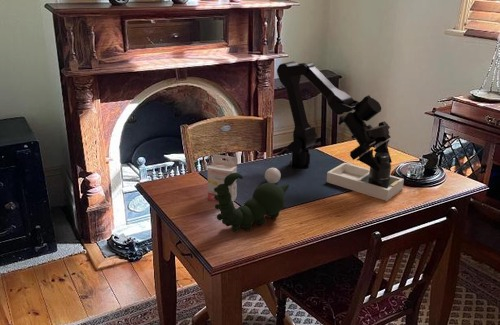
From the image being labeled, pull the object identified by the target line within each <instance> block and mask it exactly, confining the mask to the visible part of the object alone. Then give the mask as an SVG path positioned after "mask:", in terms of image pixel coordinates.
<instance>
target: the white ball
mask: <svg viewBox="0 0 500 325" xmlns="http://www.w3.org/2000/svg"><path fill="white" fill-rule="evenodd" d="M281 175H282V174H281V171H280V170H279V169H278V168H277V167H269V168H268V169H266V171H265V172H264V179H265V181H266V183H273V184H277V183H278V182H279V181H280V180H281Z"/></svg>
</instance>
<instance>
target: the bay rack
mask: <svg viewBox="0 0 500 325" xmlns="http://www.w3.org/2000/svg"><path fill="white" fill-rule="evenodd" d="M369 172H370V168H367V167H362V166H359V165H356V164H353V163H352V164H351V163H348V162H343V163H341V164H339V165H338V166H336V167H334V168H332V169H331V170H328V171H327V173H326V183H329V184H332V185H335V186H338V187H341V188H344V189H348V190H351V191H354V192H357V193H360V194H364V195H365V196H370V197H373V198H376V199H379V200H383V201H386V202H388V201H389V200H390V199H391V198H393V197H395V196H396V195H397V194H399V193H400V192H401V191H403V188H404V181H405V179H404V178H402V177H398V176H394V175H391V174H390V179H389V186H388V188H387V189H386V188H383V187H380V186H376V185H373V184H370V183H368V180H369Z"/></svg>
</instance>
